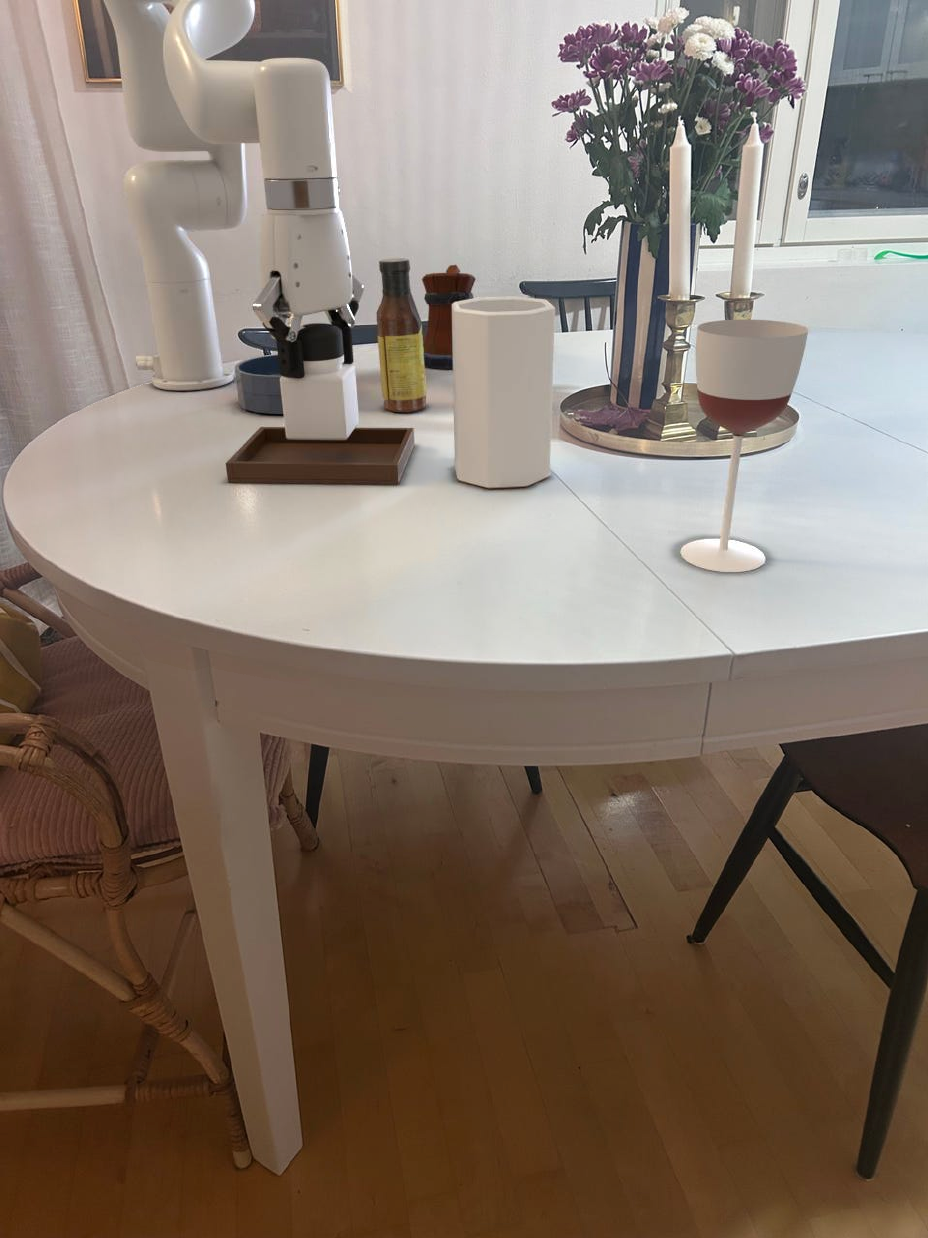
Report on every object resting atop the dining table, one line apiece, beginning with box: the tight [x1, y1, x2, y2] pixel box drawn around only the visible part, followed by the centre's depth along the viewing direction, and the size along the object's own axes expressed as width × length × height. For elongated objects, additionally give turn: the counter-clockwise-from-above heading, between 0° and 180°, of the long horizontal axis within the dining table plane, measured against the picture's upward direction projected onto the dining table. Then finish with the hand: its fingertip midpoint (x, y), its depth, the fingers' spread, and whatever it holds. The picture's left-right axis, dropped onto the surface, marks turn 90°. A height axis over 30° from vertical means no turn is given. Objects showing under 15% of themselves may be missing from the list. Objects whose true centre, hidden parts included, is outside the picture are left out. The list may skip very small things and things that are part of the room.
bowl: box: [234, 353, 284, 415], centre depth 132 cm, size 15×15×6 cm
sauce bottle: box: [375, 257, 427, 413], centre depth 124 cm, size 7×6×20 cm
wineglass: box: [679, 319, 809, 573], centre depth 78 cm, size 8×9×20 cm
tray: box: [225, 426, 415, 486], centre depth 107 cm, size 19×14×2 cm
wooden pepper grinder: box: [421, 264, 476, 370], centre depth 154 cm, size 18×12×15 cm, turn 177°
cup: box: [452, 295, 556, 490], centre depth 99 cm, size 11×11×18 cm
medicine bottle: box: [280, 322, 360, 440], centre depth 103 cm, size 7×7×12 cm
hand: (317, 368), depth 102 cm, fingers closed on medicine bottle, 7 cm apart
